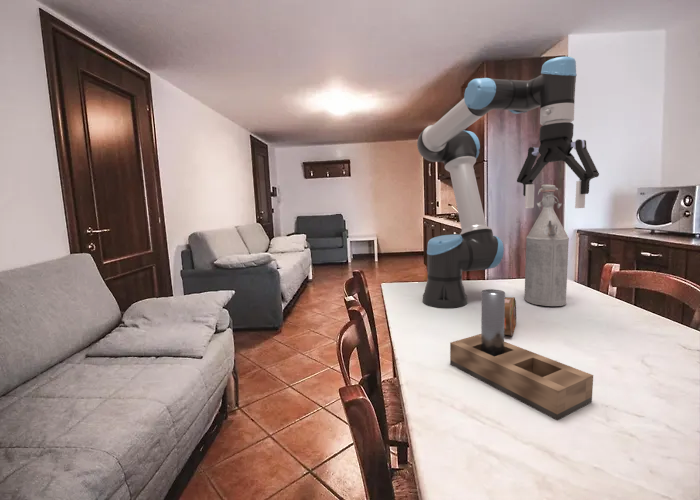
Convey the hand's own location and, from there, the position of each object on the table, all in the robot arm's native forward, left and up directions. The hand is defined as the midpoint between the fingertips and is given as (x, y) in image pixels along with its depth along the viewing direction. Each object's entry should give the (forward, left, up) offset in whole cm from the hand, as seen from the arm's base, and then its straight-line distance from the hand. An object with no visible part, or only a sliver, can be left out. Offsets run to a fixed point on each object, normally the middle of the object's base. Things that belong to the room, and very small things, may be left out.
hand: (553, 208), depth 94 cm
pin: (+9, -33, -32) cm, 47 cm away
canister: (-16, +23, -33) cm, 43 cm away
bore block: (+14, -33, -33) cm, 49 cm away
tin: (-5, -10, -33) cm, 35 cm away
